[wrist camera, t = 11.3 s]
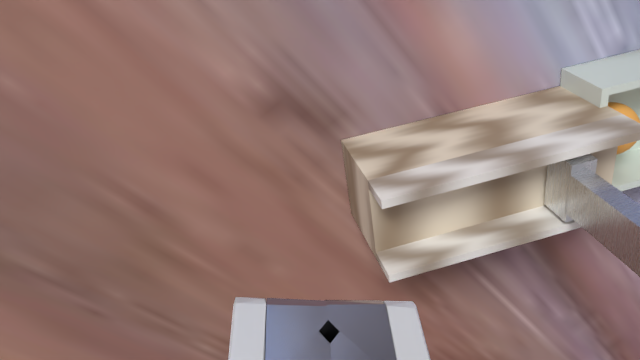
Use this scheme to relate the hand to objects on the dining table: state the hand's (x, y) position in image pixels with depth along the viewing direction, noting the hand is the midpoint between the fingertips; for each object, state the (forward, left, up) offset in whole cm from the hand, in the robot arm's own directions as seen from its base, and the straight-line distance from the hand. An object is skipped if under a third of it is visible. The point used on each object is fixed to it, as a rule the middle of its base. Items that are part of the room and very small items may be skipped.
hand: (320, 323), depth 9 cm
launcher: (-7, +21, -28) cm, 35 cm away
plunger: (-10, +23, -21) cm, 33 cm away
